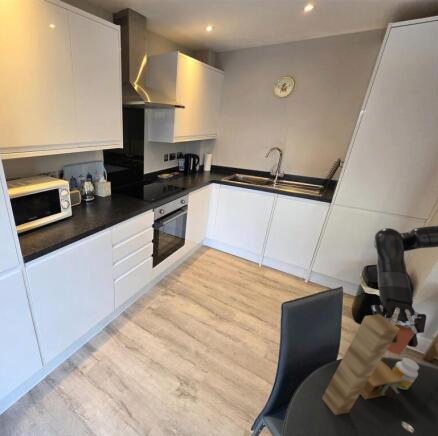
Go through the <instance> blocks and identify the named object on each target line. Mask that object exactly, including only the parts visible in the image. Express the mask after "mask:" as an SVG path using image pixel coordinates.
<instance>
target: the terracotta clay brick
mask: <svg viewBox="0 0 438 436" xmlns="http://www.w3.org/2000/svg"><path fill="white" fill-rule="evenodd" d="M395 326H397V327H398V328H400V329H399V331H398V333H397V334H396V339H397V343H392V342H391V344H390V346H389V347H388V349H387V350H386V351H388V352H390V353H392V354H395V355H402V354H403V352H404V351H405V349H406V348H407V346H408V343H409V342H410V340H411V339H412V337H413V336H414V333H413V332H412V331H411V330H410V329H409V328H407V327H405V326H403V325H402V324H398V323H395Z"/></svg>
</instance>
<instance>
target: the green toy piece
mask: <svg viewBox="0 0 438 436" xmlns="http://www.w3.org/2000/svg"><path fill="white" fill-rule="evenodd" d="M398 384H399V383H398V382H396V383H391V384H385V386H384V387H383V389H382V390H381V392H380V394H381V395H383V394H385V395H384V396H386V397H387V398H388V399H389V400H390V401H395V399H397V397H398V395H399V394H400V390H398V388H397V389H396V387H397V386H398Z"/></svg>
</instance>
